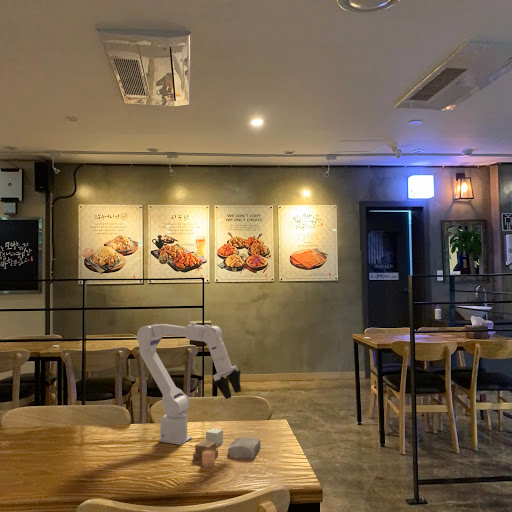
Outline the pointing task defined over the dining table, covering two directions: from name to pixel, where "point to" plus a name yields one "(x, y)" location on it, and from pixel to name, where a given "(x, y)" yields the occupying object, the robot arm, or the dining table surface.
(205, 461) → the tan rounded block
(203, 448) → the walnut block
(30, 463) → the dining table surface
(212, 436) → the blue-grey cube
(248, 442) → the stone block
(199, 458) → the walnut slab
